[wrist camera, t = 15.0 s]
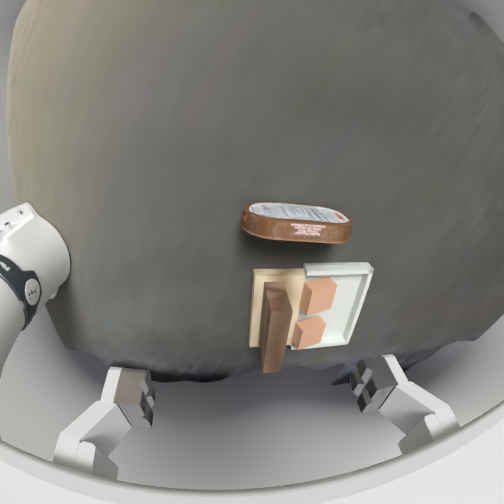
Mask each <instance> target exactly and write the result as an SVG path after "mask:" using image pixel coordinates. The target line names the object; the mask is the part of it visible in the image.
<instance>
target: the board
mask: <svg viewBox="0 0 504 504" xmlns="http://www.w3.org/2000/svg"><path fill="white" fill-rule="evenodd" d="M305 277H306V275H305V273H304V270H303V269H254V270H253V284H252V299H251V314H250V328H249V346H250V347H258V339H259V329H260V320H261V310H262V300H263V289H264V282H284V285H285V288H286V291H287V295H288V298H289V301H290V304H291V307H292V310H293V313H292V318H291V323H290V329H289V334H288V339H287V343H286V345H292V337H293V332H294V328H295V323H296V322H297V318H298V313H299V308H300V307H299V305H300V300H301V295H302V290H303V285H304V282H305Z"/></svg>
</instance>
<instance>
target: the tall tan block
mask: <svg viewBox="0 0 504 504" xmlns="http://www.w3.org/2000/svg"><path fill="white" fill-rule="evenodd" d="M292 313H293V310H292V307H291V304H290V301H289V298H288V295H287V291H286V288H285V285H284V282H264V289H263V300H262V310H261V320H260V329H259V339H258V347H259V353H260V359H261V365H262V371H263V373H275V372H281V367H282V362H283V358H284V353H285V348H286V343H287V339H288V334H289V329H290V323H291V318H292Z"/></svg>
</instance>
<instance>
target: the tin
mask: <svg viewBox="0 0 504 504" xmlns="http://www.w3.org/2000/svg"><path fill="white" fill-rule="evenodd" d="M352 225H353V221H352V220H351V219H350V218H349V217H347V216H346V215H345V214H343V213H342V212H340V211H337V210H334V209H330V208H326V207H321V206H313V205H304V204H294V203H282V202H268V201H261V202H252V203H249V204H247V205H246V206H245V207H244V209H243V216H242V222H241V227H242V229H243V230H245V231H246V232H247V233H249V234H252V235H254V236H257V237H261V238H265V239H271V240H284V241H301V242H317V243H331V244H339V243H345V242H347V241H349V240H350V238H351V237H350V235H351V230H352Z"/></svg>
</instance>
